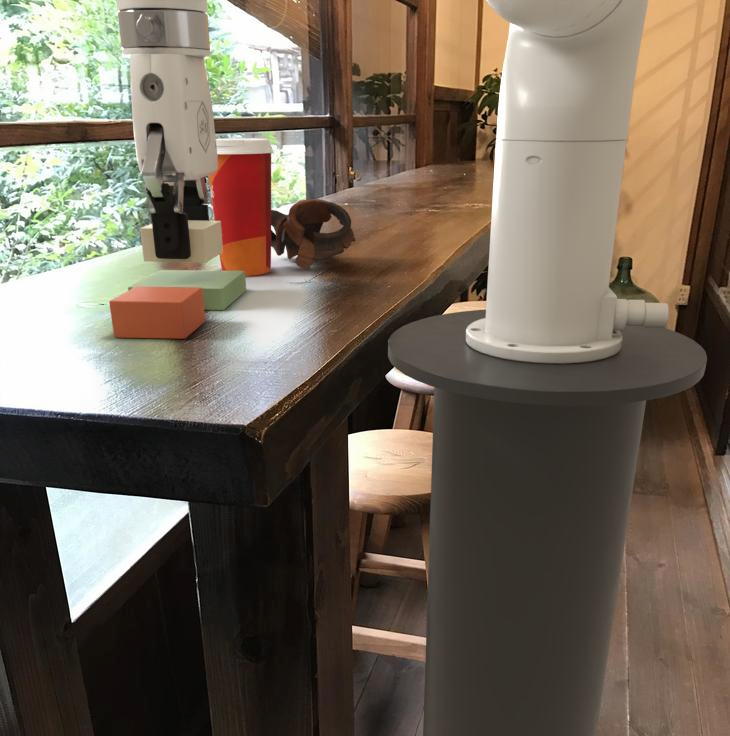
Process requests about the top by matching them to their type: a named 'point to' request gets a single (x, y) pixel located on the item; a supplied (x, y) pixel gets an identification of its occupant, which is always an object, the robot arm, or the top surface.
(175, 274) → the sage green pad
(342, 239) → the brown coiled band
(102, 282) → the top surface
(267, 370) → the top surface
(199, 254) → the cream rectangular block
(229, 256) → the paper cup
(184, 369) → the top surface
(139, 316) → the orange rectangular block
